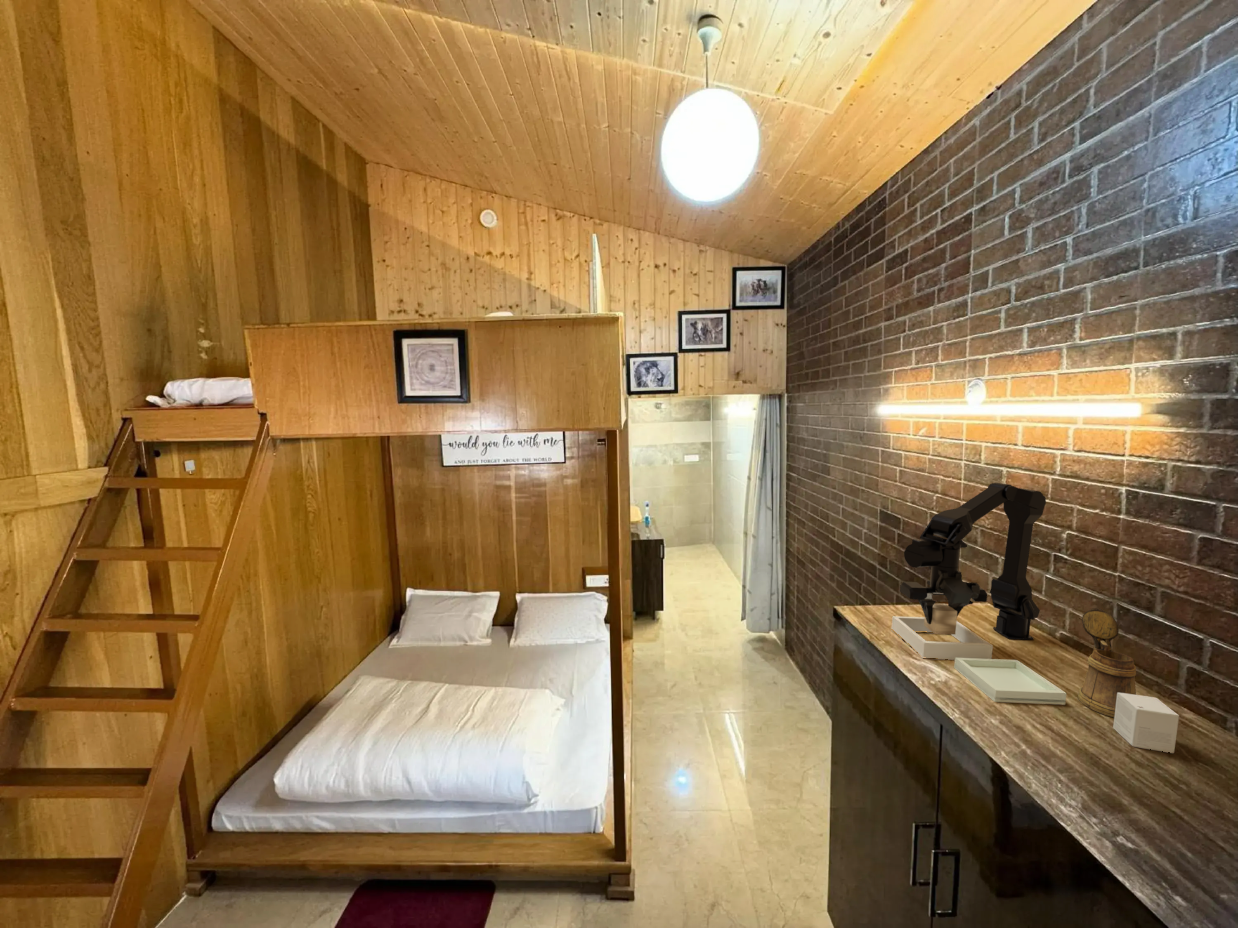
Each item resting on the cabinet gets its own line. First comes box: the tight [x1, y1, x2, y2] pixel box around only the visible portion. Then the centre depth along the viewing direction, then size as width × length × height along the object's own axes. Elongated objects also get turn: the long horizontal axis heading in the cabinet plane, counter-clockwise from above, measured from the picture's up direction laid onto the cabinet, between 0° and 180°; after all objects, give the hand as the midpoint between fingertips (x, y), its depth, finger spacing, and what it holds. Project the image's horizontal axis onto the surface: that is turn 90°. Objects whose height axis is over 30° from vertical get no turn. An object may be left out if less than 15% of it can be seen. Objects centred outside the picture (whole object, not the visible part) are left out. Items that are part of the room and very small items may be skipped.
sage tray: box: [953, 658, 1067, 706], centre depth 113 cm, size 14×14×2 cm
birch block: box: [924, 603, 958, 635], centre depth 131 cm, size 5×5×6 cm
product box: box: [1112, 693, 1180, 754], centre depth 94 cm, size 6×6×7 cm
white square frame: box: [891, 615, 994, 661], centre depth 132 cm, size 16×16×4 cm
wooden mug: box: [1077, 606, 1137, 718], centre depth 106 cm, size 9×14×18 cm, turn 157°
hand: (939, 623), depth 131 cm, fingers closed on birch block, 5 cm apart
